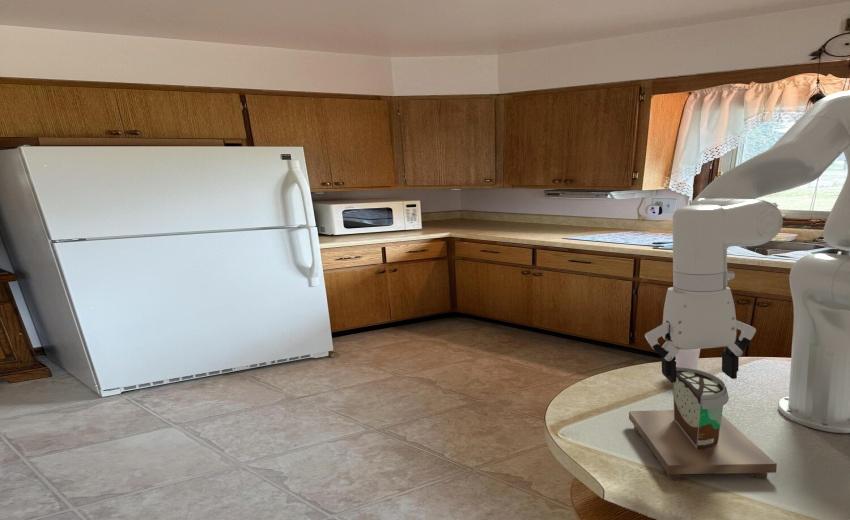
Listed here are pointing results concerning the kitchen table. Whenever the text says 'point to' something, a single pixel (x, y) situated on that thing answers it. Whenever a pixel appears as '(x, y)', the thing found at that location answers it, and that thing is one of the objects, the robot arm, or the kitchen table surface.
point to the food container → (699, 405)
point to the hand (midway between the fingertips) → (699, 377)
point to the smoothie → (687, 358)
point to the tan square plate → (684, 457)
